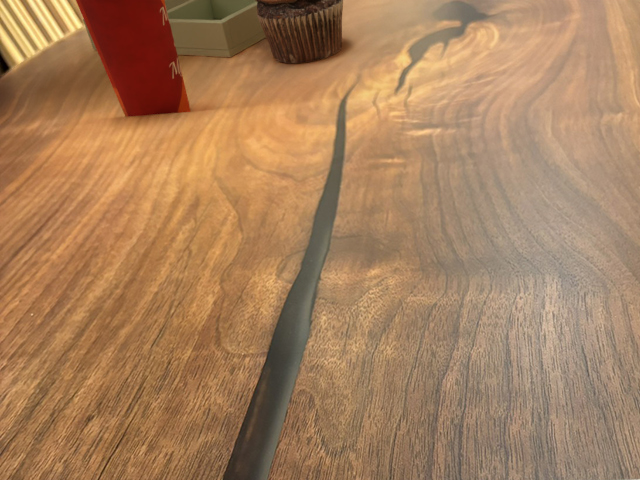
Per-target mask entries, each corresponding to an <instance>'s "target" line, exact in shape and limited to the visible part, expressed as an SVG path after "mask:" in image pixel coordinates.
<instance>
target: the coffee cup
mask: <svg viewBox="0 0 640 480" xmlns="http://www.w3.org/2000/svg"><path fill="white" fill-rule="evenodd" d="M75 3H76V4H77V6H78V9H79V11H80V14H81V16H82V19H84V21H85V23H86V26H87V28H88V30H89V33H90V35H91V37H92V40H93V42H94V44H95V47H96V49H97V50H96V52H97V54H98V56H99V59H100V61H101V63H102V67H103V68H104V70H105V72H106V75H107V78H108V79H109V82H110V84H111V87H112V89H113V91H114V93H115V97H116V98H117V101H118V103H119V106H120V108H121V110H122V113H123V114H124V117H125V118H127V117H144V116H153V115H154V116H155V115H167V114H168V115H169V114H181V113H191V107H190V103H189V102H190V101H189V98H188V94H187V89H186V86H185V81H184V76H183V73H182V68H181V63H180V59H179V55H177V51H176V46H175V42H174V38H173V34H172V30H171V26H170V21H169V17H168V13H167V9H166V5H165V1H164V0H75Z"/></svg>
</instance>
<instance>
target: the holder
mask: <svg viewBox="0 0 640 480" xmlns="http://www.w3.org/2000/svg"><path fill="white" fill-rule="evenodd" d="M164 1H165V5H166V9H167V13H168V17H169V21H170V26H171V30H172V34H173V38H174V42H175V46H176V51H177V55H178V56H193V57H195V56H196V57H197V56H198V57H213V58H232V57H234V56H236V55H237V54H239V53H241V52H243V51H244V50H246V49H248V48H250V47H252V46H253V45H255V44H257V43H258V42H260V41H262V40H264V39H266V36H265V33H264V31H263V28H262V26H261V24H260V22H259V19H258V16H257V3H258V2H257V1H255V0H164ZM82 21H83V22H82V23H83V24H84V27H85V29H86V32H87V35H88V38H89V41H90V43H91V47H92V49H93V51H97V49H96V47H95V44H94V42H93V40H92V37H91V35H90V33H89V30H88V28H87V26H86V23H85V21H84V18H82Z"/></svg>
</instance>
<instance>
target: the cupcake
mask: <svg viewBox="0 0 640 480" xmlns="http://www.w3.org/2000/svg"><path fill="white" fill-rule="evenodd" d="M255 1H257V2H258V3H257V16H258V19H259V22H260V24H261V26H262V28H263V31H264V33H265V36H266V37H265V39H266V41H267V44H268V46H269V48H270V51H271V54H272V56H273V58H274V59H275V60H276V61H277V62H280V63H283V64H304V63H311V62H316V61H320V60H321V61H322V60H324V59H327V58H329V57H330V56H334V55H336V54H337V53H339V52H340V51H341V49H342V47H343V9H344V6H343V5H344V0H255Z"/></svg>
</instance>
